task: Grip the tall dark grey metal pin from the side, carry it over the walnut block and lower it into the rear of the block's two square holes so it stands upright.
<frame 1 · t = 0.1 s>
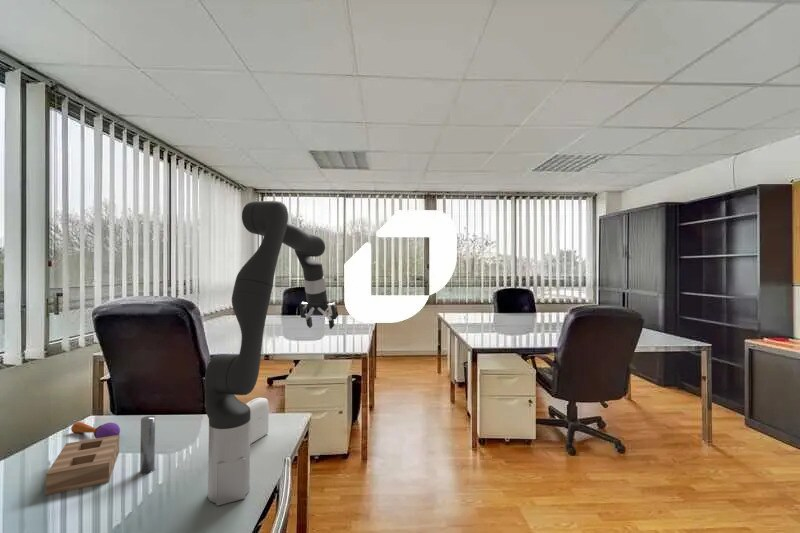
hand: (321, 327, 149), 31 cm above the table, tool tilted 20°, fingers open, 8 cm apart
block: (86, 471, 102), on the table
maraca: (94, 438, 122), on the table
pin: (147, 470, 103), on the table
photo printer: (254, 439, 123), on the table
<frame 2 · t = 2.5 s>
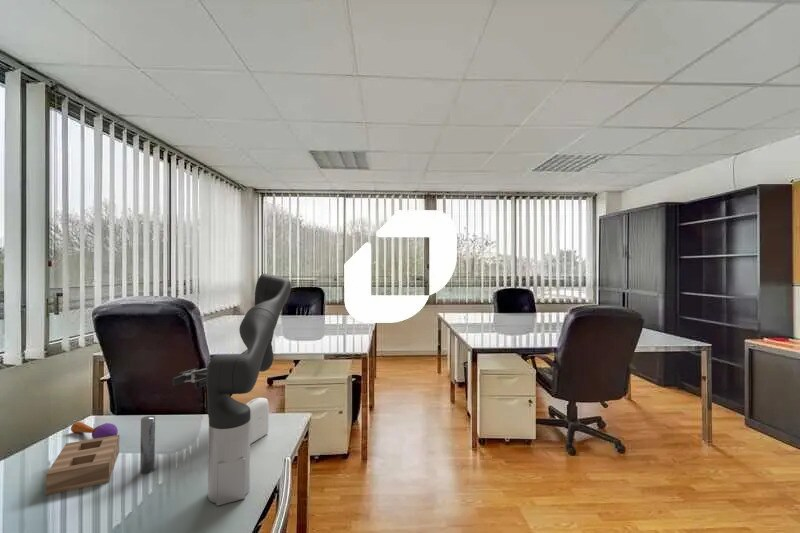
hand: (184, 383, 113), 20 cm above the table, tool horizontal, fingers open, 8 cm apart
nothing on the table moved.
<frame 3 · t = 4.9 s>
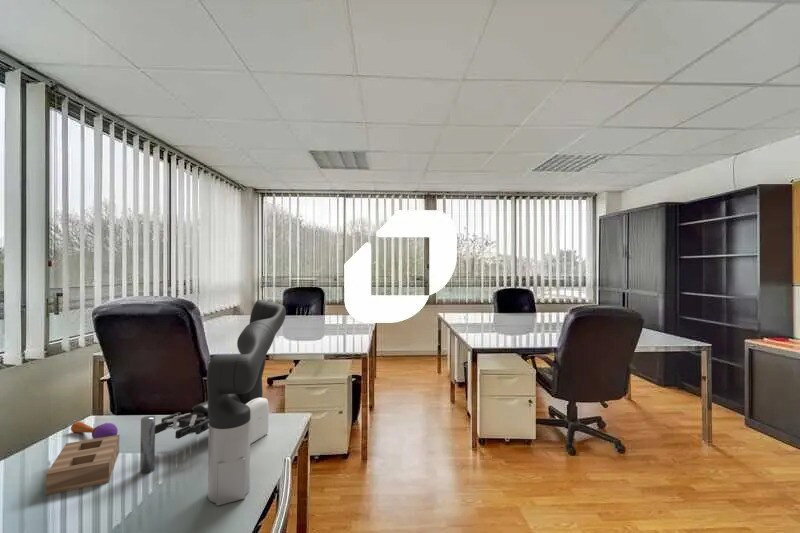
hand: (164, 432, 108), 8 cm above the table, tool horizontal, fingers open, 8 cm apart
nothing on the table moved.
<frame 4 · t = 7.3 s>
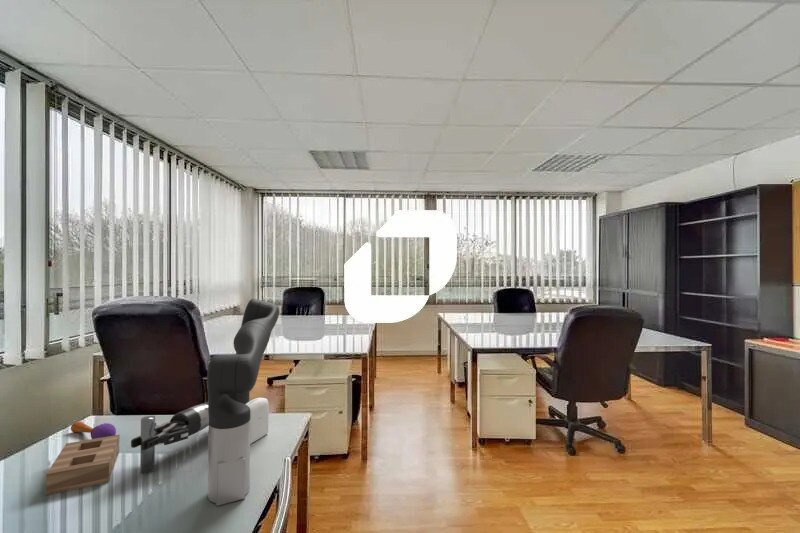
hand: (137, 445, 100), 8 cm above the table, tool horizontal, fingers closed on pin, 3 cm apart
pin: (147, 470, 103), on the table, touching gripper
everything else where it was.
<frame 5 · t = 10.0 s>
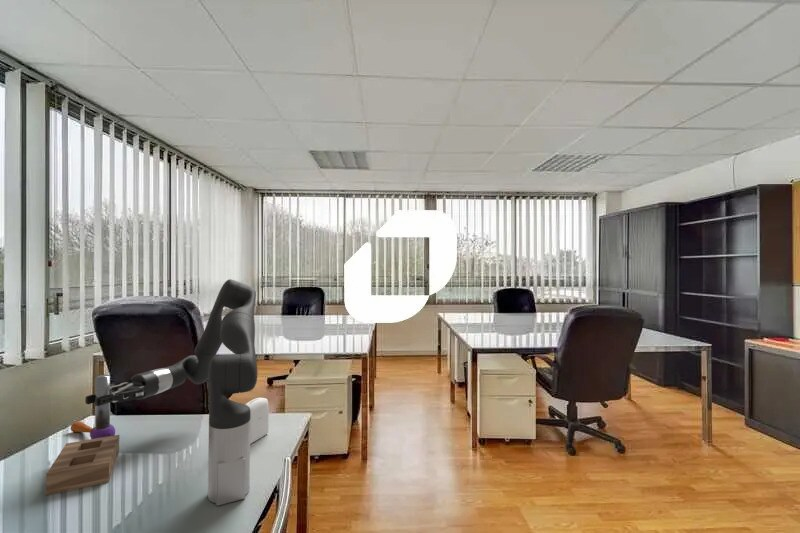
hand: (91, 401, 103), 18 cm above the table, tool horizontal, fingers closed on pin, 3 cm apart
pin: (102, 427, 106), point 10 cm above the table, touching gripper
everything else where it was.
when the fingers open (11 cm above the table, at t = 13.0 s): pin drops 2 cm, resting on block.
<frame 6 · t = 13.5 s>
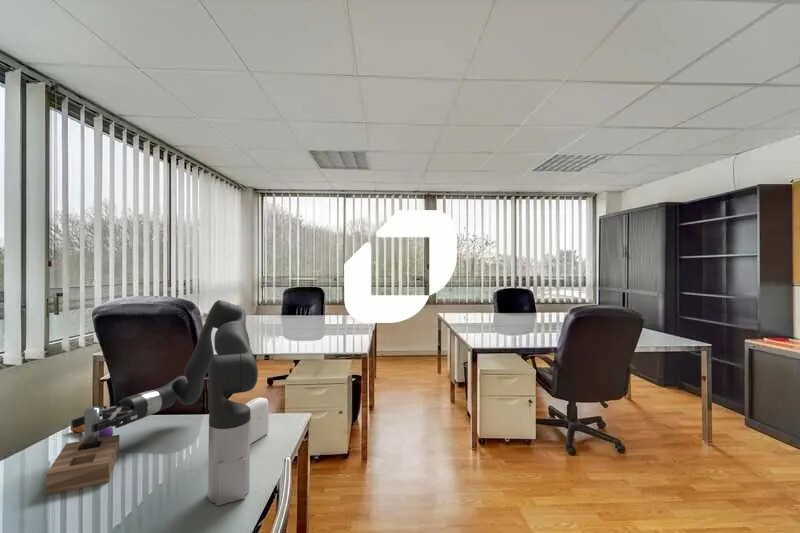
hand: (82, 426, 104), 11 cm above the table, tool horizontal, fingers open, 7 cm apart
pin: (90, 459, 106), point 1 cm above the table, touching block
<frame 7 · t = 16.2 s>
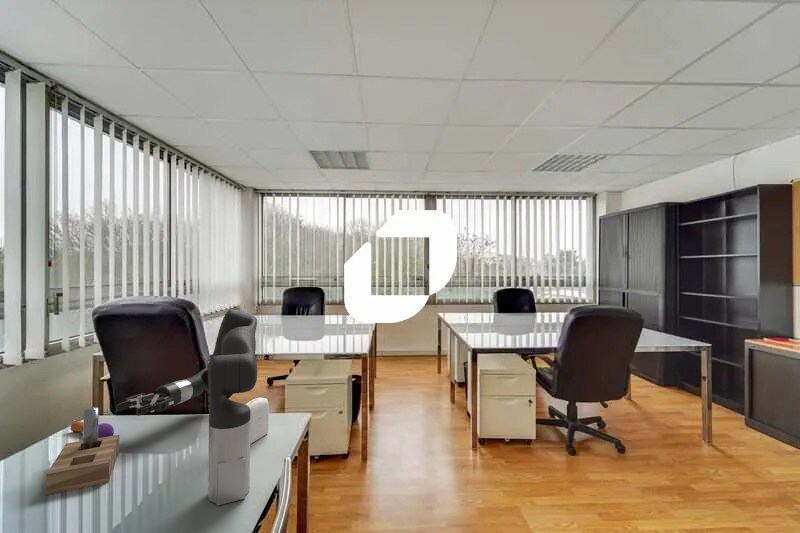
hand: (126, 410, 115), 11 cm above the table, tool horizontal, fingers open, 8 cm apart
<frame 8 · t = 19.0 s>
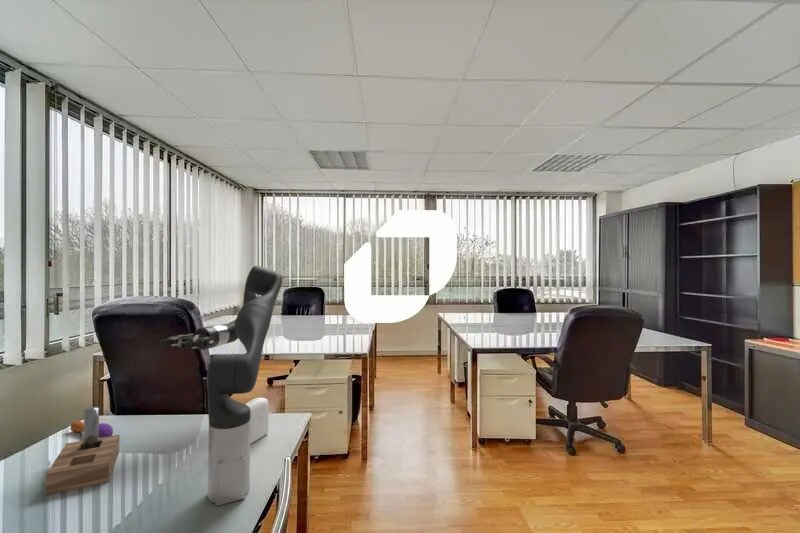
hand: (170, 345, 119), 30 cm above the table, tool horizontal, fingers open, 8 cm apart
at the end: pin 0.1 cm from the target spot on the block, point 1.0 cm above the block's base; pin tilted 1°; the gripper is holding nothing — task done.
